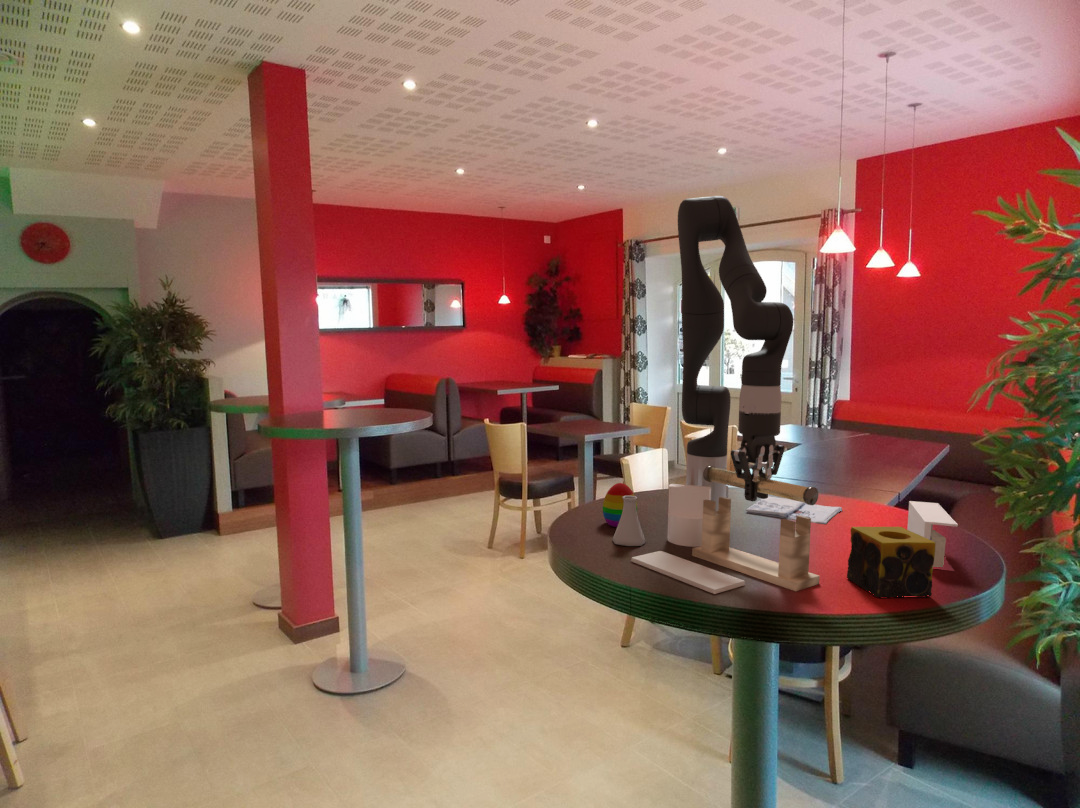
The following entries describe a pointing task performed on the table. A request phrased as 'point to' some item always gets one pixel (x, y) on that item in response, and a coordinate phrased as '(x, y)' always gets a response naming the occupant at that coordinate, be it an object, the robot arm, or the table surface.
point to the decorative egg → (615, 503)
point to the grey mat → (688, 572)
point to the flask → (629, 525)
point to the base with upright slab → (686, 514)
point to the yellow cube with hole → (891, 561)
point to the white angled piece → (930, 525)
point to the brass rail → (764, 485)
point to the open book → (793, 509)
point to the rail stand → (785, 573)
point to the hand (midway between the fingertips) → (756, 498)
